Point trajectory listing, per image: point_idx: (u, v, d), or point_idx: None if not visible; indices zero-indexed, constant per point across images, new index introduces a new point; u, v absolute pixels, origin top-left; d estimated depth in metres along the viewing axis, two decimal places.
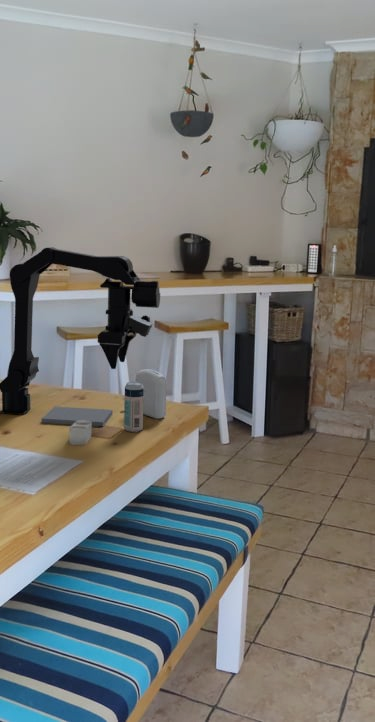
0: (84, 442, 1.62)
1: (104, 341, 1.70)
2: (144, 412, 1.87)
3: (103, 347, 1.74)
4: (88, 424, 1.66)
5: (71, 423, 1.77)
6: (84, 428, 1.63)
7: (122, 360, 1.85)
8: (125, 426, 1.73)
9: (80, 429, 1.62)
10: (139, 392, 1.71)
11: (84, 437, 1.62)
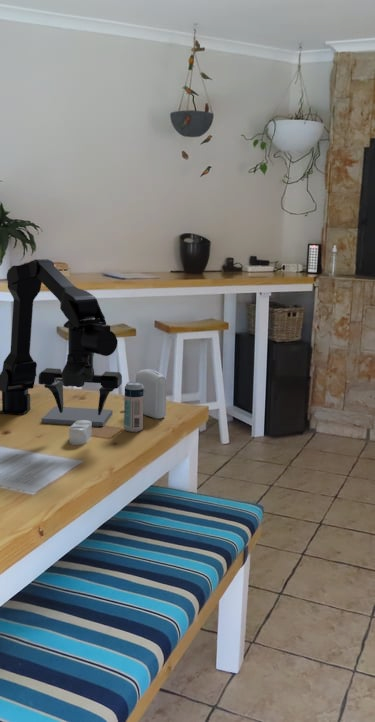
0: (84, 442, 1.62)
1: None
2: (144, 412, 1.87)
3: None
4: (88, 424, 1.66)
5: (71, 423, 1.77)
6: (84, 428, 1.63)
7: None
8: (125, 426, 1.73)
9: (80, 429, 1.62)
10: (139, 392, 1.70)
11: (84, 437, 1.62)
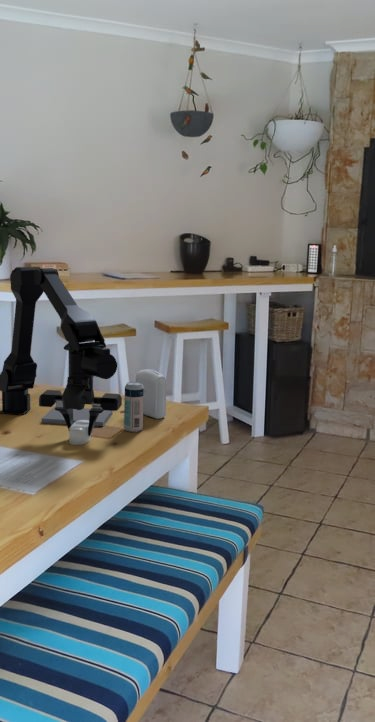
0: (84, 442, 1.62)
1: None
2: (144, 412, 1.87)
3: None
4: (88, 424, 1.66)
5: None
6: (84, 428, 1.62)
7: None
8: (125, 426, 1.73)
9: (80, 429, 1.62)
10: (139, 392, 1.70)
11: (84, 437, 1.62)
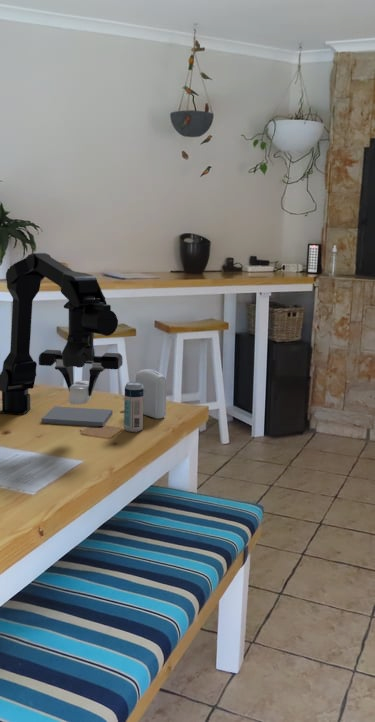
0: (84, 401, 1.60)
1: None
2: (144, 412, 1.87)
3: None
4: (88, 384, 1.64)
5: (71, 423, 1.77)
6: (84, 387, 1.60)
7: None
8: (125, 426, 1.73)
9: (80, 388, 1.60)
10: (139, 392, 1.71)
11: (84, 396, 1.60)
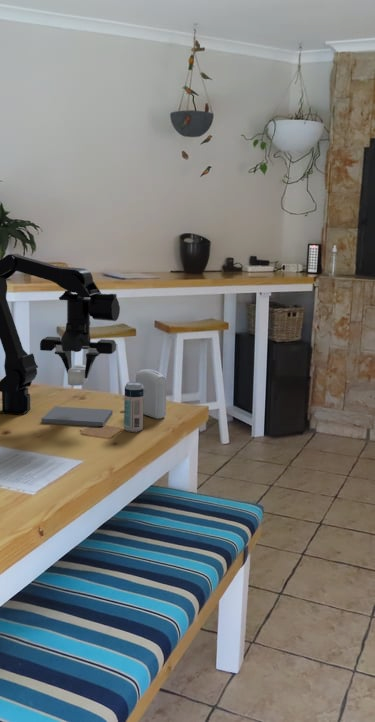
0: (81, 383, 1.77)
1: None
2: (144, 412, 1.87)
3: None
4: (85, 367, 1.81)
5: (71, 423, 1.77)
6: (81, 370, 1.78)
7: None
8: (125, 426, 1.73)
9: (78, 371, 1.77)
10: (139, 392, 1.70)
11: (81, 378, 1.77)
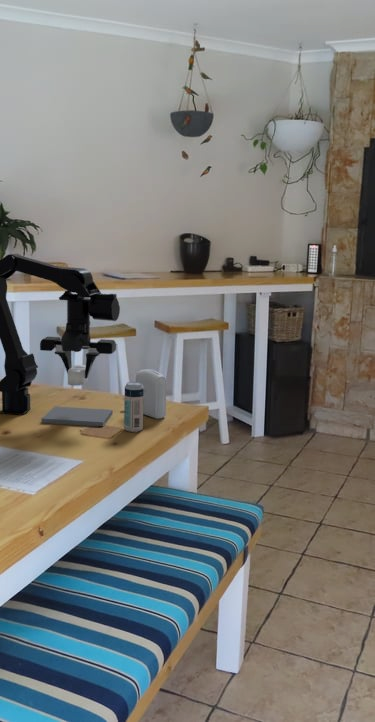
0: (81, 383, 1.77)
1: None
2: (144, 412, 1.87)
3: None
4: (85, 367, 1.81)
5: (71, 423, 1.77)
6: (81, 370, 1.78)
7: None
8: (125, 426, 1.73)
9: (78, 371, 1.77)
10: (139, 392, 1.71)
11: (81, 378, 1.77)
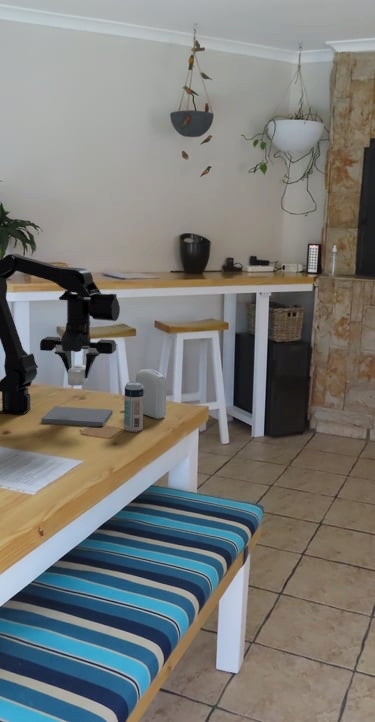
0: (81, 383, 1.77)
1: None
2: (144, 412, 1.87)
3: None
4: (85, 367, 1.81)
5: (71, 423, 1.77)
6: (81, 370, 1.78)
7: None
8: (125, 426, 1.73)
9: (78, 371, 1.77)
10: (139, 392, 1.70)
11: (81, 378, 1.77)
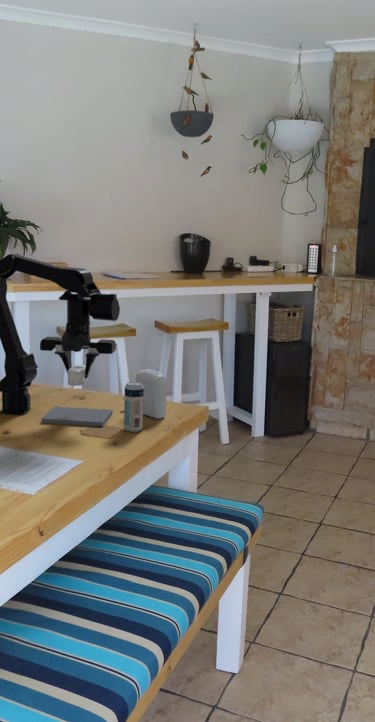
0: (81, 383, 1.77)
1: None
2: (144, 412, 1.87)
3: None
4: (85, 367, 1.81)
5: (71, 423, 1.77)
6: (81, 370, 1.78)
7: None
8: (125, 426, 1.73)
9: (78, 371, 1.77)
10: (139, 392, 1.71)
11: (81, 378, 1.77)
